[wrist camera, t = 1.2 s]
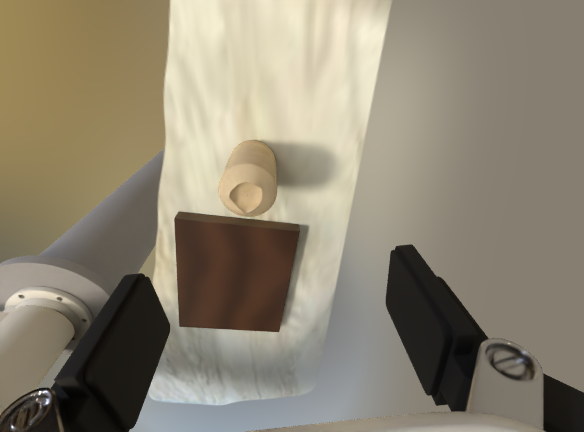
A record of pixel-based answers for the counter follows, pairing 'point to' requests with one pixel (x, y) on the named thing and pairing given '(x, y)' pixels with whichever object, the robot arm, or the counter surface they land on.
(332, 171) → the counter surface
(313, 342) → the counter surface
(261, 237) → the walnut board
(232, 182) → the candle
